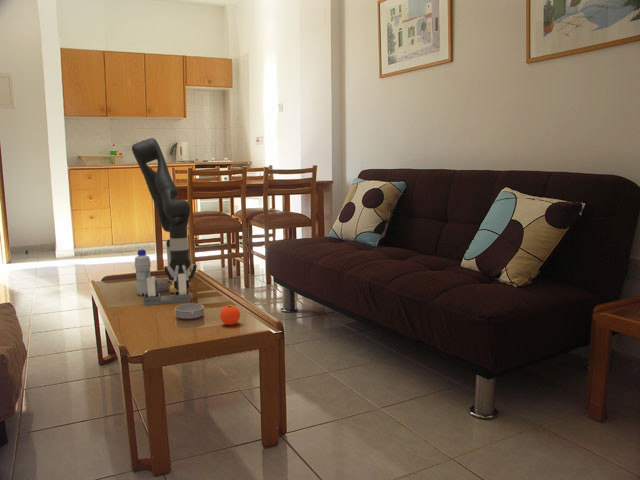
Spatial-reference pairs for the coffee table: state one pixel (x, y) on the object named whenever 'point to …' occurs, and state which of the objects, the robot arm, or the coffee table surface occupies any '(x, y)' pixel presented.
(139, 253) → the bottle
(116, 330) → the coffee table surface
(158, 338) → the coffee table surface
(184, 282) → the block
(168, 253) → the robot arm
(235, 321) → the clementine
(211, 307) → the coffee table surface
